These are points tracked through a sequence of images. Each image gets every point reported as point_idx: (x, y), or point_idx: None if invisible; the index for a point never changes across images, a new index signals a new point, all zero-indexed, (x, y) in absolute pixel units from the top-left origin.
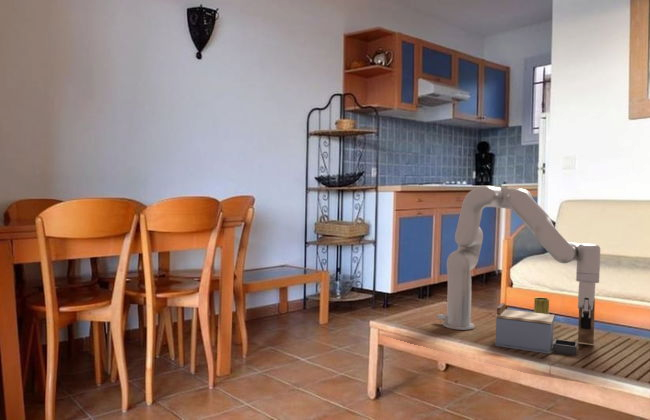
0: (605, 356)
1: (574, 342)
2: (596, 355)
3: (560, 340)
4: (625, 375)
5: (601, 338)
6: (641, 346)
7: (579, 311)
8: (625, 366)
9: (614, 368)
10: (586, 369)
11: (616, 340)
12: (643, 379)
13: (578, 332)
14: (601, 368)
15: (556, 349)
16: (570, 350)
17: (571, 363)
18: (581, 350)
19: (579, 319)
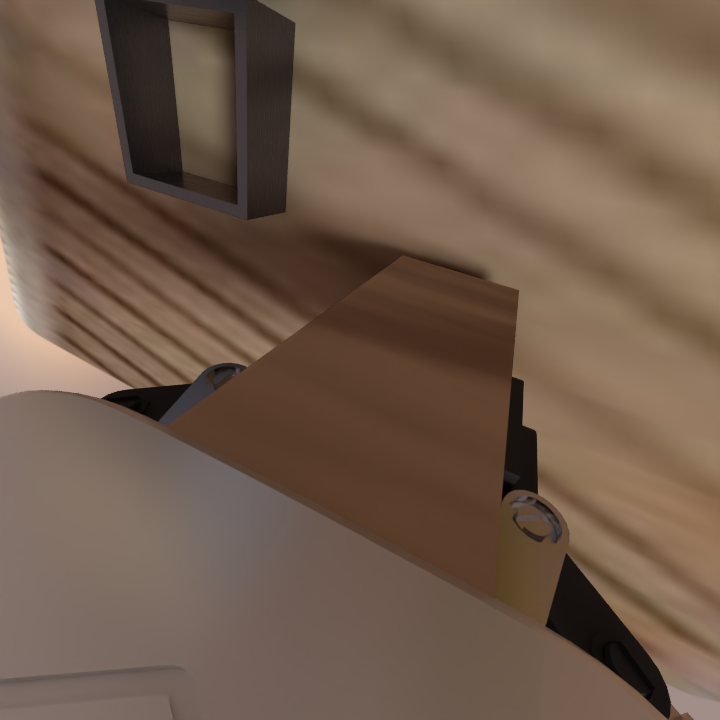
0: (247, 339)
1: (240, 194)
2: (242, 301)
3: (236, 62)
4: (73, 317)
5: (695, 502)
6: None
7: (218, 398)
8: (160, 361)
9: (114, 310)
10: (30, 187)
11: (629, 555)
12: (77, 355)
13: (372, 277)
14: (82, 258)
15: (137, 25)
16: (148, 141)
17: (49, 125)
18: (300, 243)
19: (301, 336)
